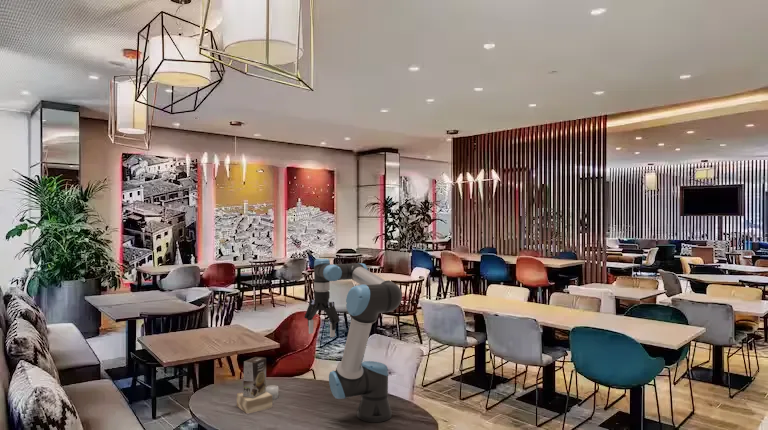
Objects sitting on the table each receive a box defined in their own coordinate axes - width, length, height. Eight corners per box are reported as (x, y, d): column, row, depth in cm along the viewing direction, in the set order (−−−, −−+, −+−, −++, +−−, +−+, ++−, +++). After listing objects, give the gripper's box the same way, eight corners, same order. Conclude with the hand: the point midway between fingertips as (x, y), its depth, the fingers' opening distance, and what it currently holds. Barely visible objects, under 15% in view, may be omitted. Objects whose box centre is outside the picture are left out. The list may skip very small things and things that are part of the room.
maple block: (272, 408, 223) (272, 395, 224) (247, 414, 216) (247, 401, 216) (260, 400, 233) (261, 388, 233) (236, 406, 225) (236, 393, 225)
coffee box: (254, 398, 219) (254, 362, 219) (242, 396, 221) (243, 361, 222) (266, 392, 227) (266, 357, 228) (255, 390, 230) (255, 356, 230)
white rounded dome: (280, 397, 237) (281, 386, 237) (271, 400, 232) (271, 390, 232) (272, 394, 241) (272, 384, 241) (263, 397, 236) (263, 387, 236)
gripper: (346, 291, 232) (346, 336, 231) (308, 288, 246) (307, 330, 245) (336, 293, 226) (336, 339, 225) (297, 289, 240) (297, 333, 239)
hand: (321, 335), depth 235 cm, fingers open, 13 cm apart
